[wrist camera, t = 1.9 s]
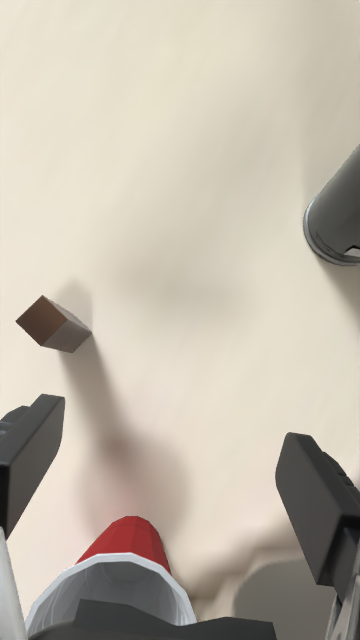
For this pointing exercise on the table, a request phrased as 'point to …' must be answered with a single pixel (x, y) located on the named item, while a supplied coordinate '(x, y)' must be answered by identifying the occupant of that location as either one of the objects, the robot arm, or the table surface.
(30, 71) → the table surface
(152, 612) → the plastic cup
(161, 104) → the table surface
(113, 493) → the table surface
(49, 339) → the post
